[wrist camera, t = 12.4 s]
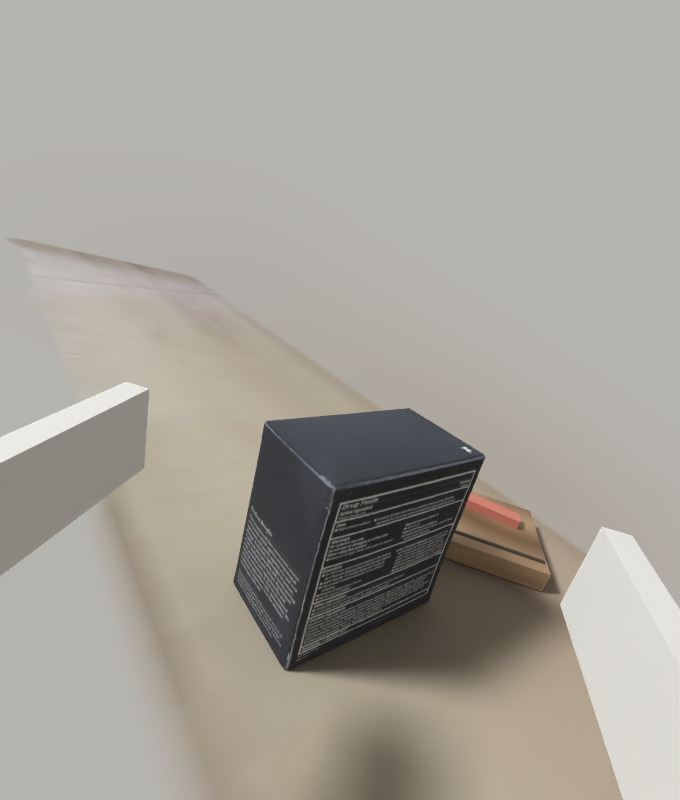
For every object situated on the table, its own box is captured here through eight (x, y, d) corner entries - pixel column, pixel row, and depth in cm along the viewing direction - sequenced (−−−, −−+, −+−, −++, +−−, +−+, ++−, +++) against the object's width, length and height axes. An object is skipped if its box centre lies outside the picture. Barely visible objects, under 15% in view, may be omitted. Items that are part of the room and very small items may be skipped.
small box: (365, 534, 32) (409, 402, 28) (431, 602, 28) (494, 457, 24) (227, 577, 25) (260, 413, 22) (284, 676, 21) (339, 491, 17)
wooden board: (541, 591, 31) (551, 574, 30) (297, 505, 33) (302, 487, 32) (522, 525, 38) (530, 509, 38) (324, 458, 40) (328, 442, 40)
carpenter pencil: (516, 521, 36) (520, 514, 36) (516, 529, 35) (520, 522, 34) (361, 454, 39) (363, 448, 39) (357, 460, 38) (359, 453, 38)
